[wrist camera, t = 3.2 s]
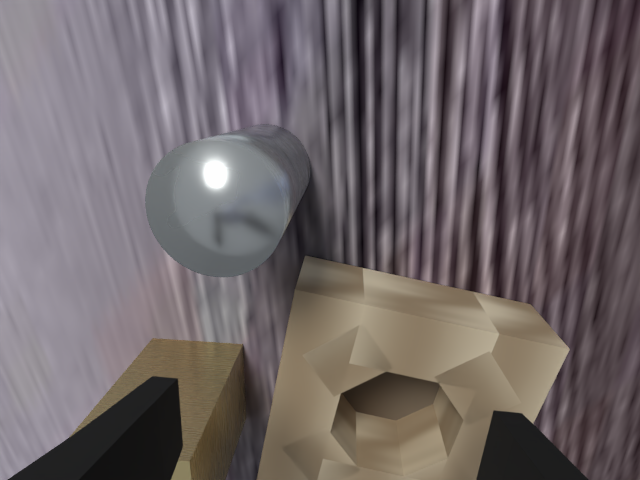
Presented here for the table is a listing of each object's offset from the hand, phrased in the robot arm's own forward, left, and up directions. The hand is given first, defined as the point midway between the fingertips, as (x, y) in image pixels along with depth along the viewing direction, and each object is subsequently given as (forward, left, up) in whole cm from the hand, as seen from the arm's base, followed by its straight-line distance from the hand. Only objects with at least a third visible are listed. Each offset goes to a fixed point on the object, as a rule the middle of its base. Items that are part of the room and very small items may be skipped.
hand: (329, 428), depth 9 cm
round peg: (+4, -4, -7) cm, 9 cm away
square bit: (+5, +6, -7) cm, 11 cm away
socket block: (-3, +3, -7) cm, 9 cm away
